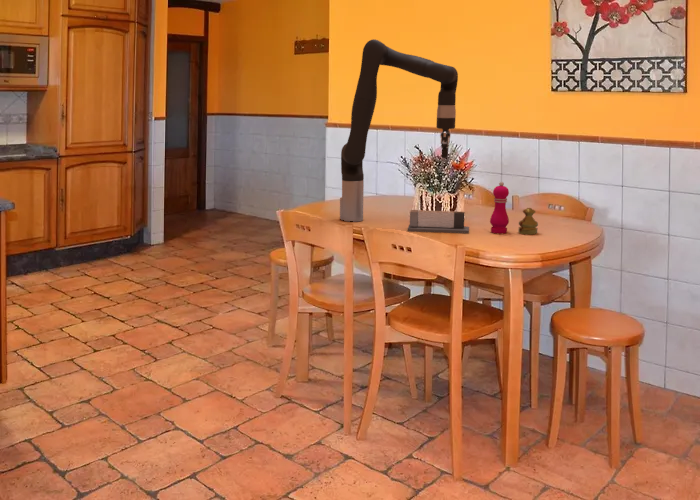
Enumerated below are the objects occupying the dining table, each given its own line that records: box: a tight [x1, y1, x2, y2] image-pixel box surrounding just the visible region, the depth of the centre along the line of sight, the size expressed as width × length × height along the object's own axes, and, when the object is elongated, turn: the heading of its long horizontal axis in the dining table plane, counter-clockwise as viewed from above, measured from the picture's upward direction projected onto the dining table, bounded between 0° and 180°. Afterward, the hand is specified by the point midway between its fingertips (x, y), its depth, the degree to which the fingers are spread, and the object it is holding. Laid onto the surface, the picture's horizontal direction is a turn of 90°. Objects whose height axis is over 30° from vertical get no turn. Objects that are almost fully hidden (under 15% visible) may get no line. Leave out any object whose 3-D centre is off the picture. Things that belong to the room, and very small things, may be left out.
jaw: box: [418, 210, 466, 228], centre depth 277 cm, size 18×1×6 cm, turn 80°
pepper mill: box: [489, 181, 510, 235], centre depth 274 cm, size 7×7×20 cm
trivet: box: [407, 223, 470, 235], centre depth 279 cm, size 24×9×1 cm, turn 80°
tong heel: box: [409, 209, 420, 227], centre depth 279 cm, size 3×5×6 cm, turn 170°
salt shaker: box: [518, 207, 539, 236], centre depth 273 cm, size 7×7×10 cm
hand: (444, 157), depth 286 cm, fingers open, 8 cm apart
